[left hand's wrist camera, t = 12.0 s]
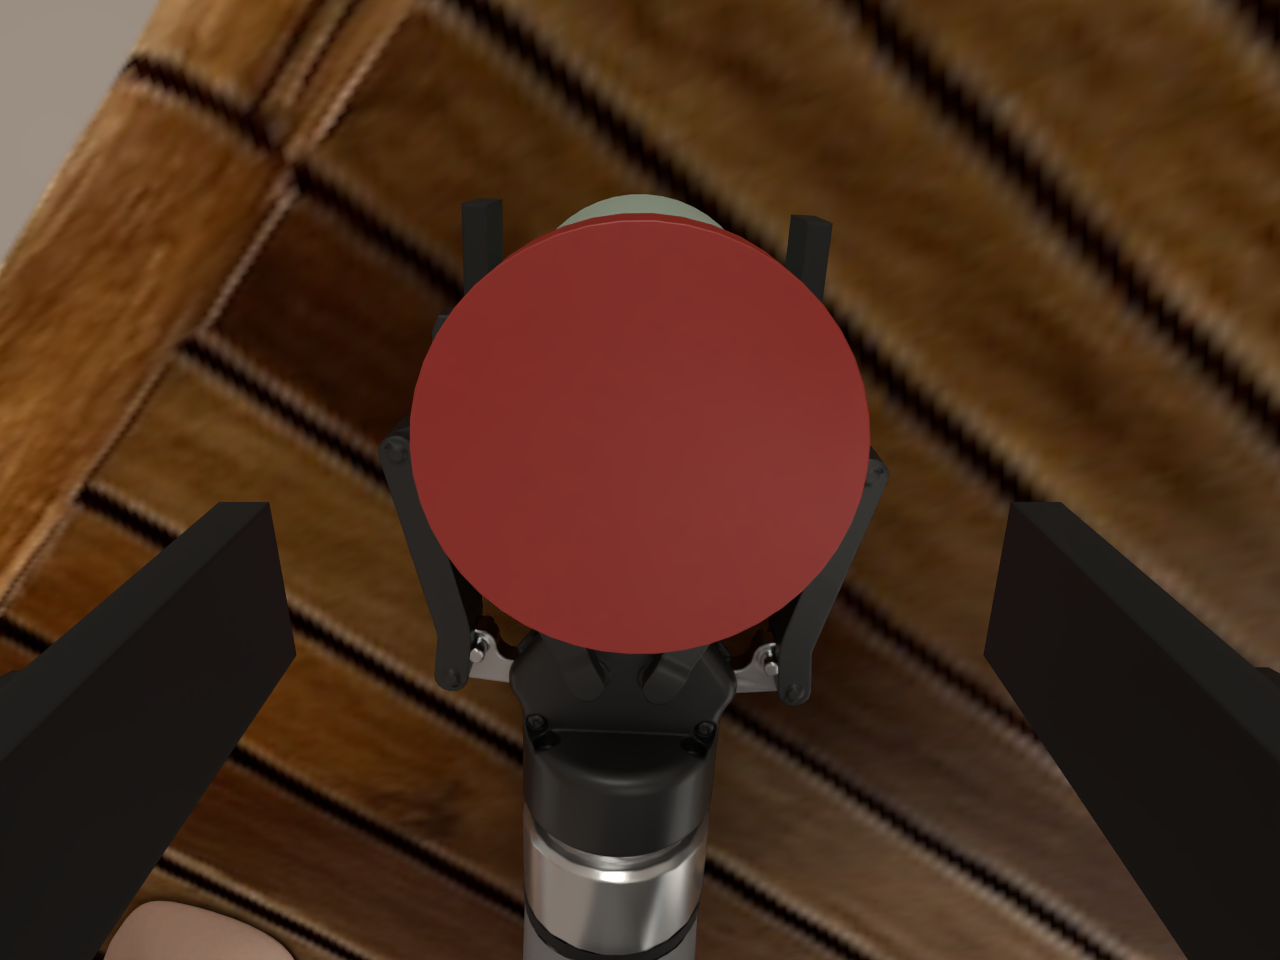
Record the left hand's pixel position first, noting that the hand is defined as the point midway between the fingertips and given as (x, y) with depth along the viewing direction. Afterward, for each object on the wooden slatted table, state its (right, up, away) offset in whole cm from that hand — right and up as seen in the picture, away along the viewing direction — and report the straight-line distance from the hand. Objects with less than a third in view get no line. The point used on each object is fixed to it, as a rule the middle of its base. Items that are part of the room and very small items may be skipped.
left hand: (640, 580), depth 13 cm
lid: (0, +2, +5) cm, 6 cm away
